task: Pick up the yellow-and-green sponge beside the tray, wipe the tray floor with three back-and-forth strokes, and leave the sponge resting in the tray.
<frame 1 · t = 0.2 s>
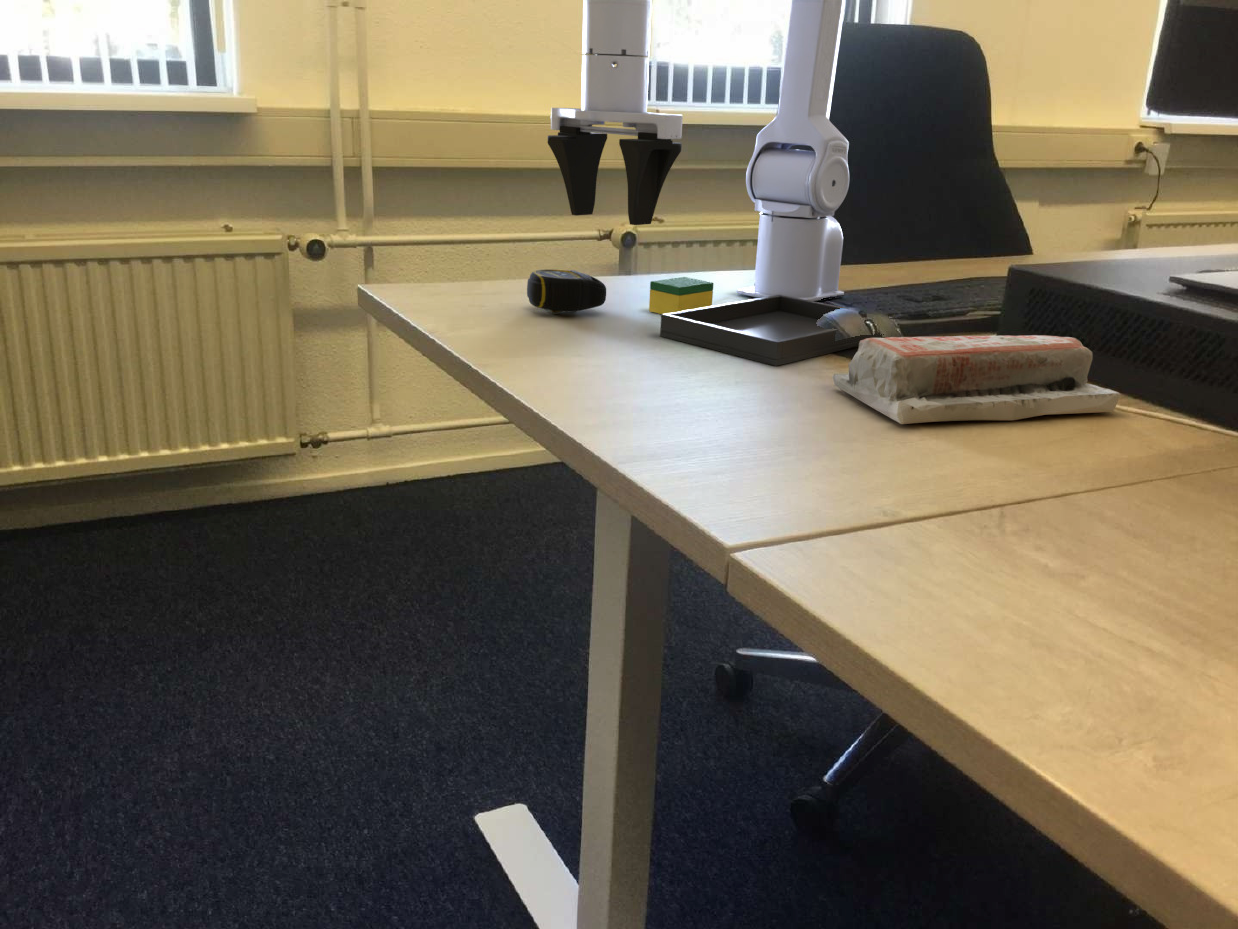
hand: (610, 219, 93), 10 cm above the table, tool pointing down, fingers open, 7 cm apart
tray: (777, 337, 95), on the table
tape measure: (566, 311, 103), on the table
packaged product: (970, 404, 77), on the table
sponge: (680, 311, 104), on the table
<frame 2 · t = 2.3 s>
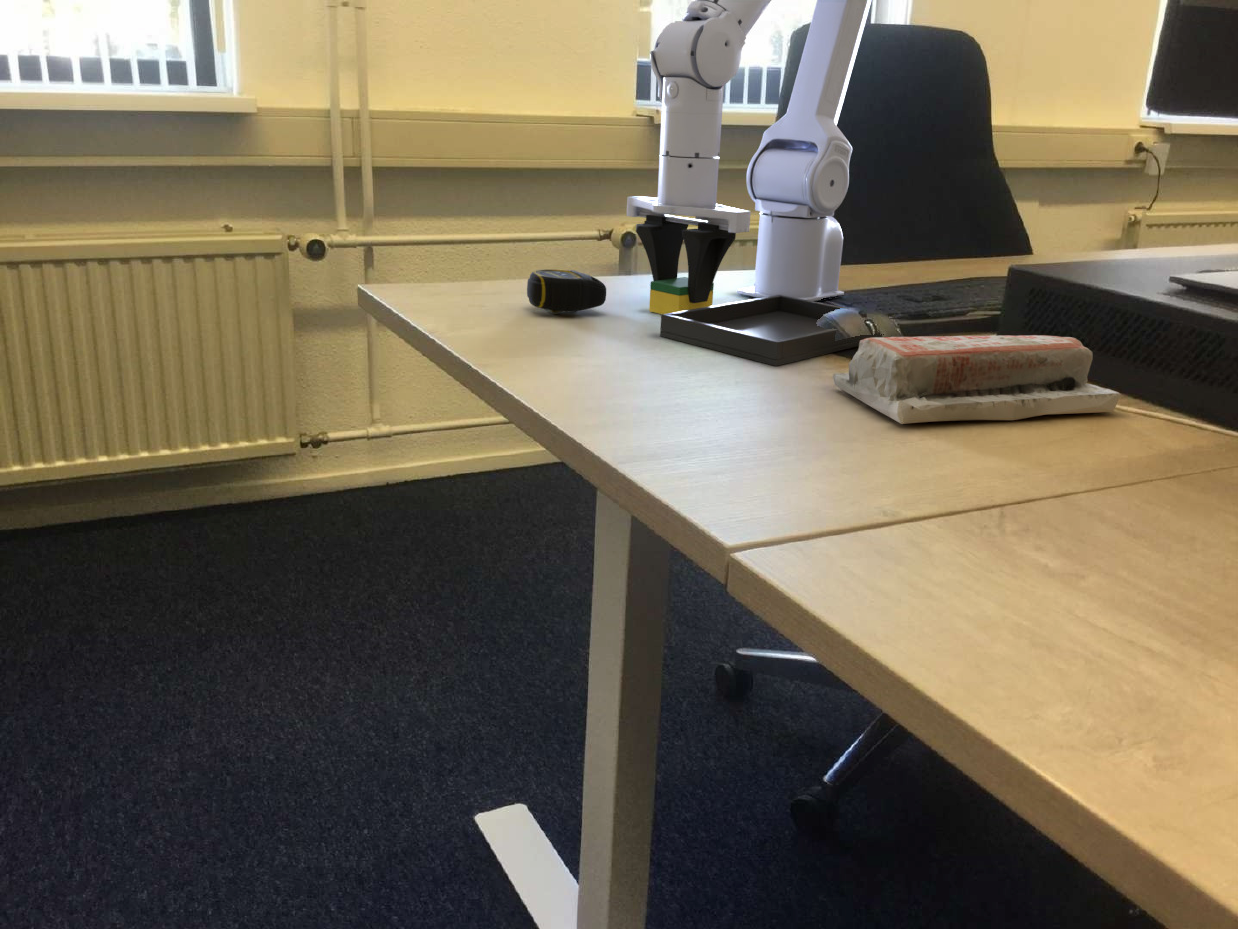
hand: (681, 297, 104), 1 cm above the table, tool pointing down, fingers closed on sponge, 4 cm apart
sponge: (680, 311, 104), on the table, touching gripper
everything else where it was.
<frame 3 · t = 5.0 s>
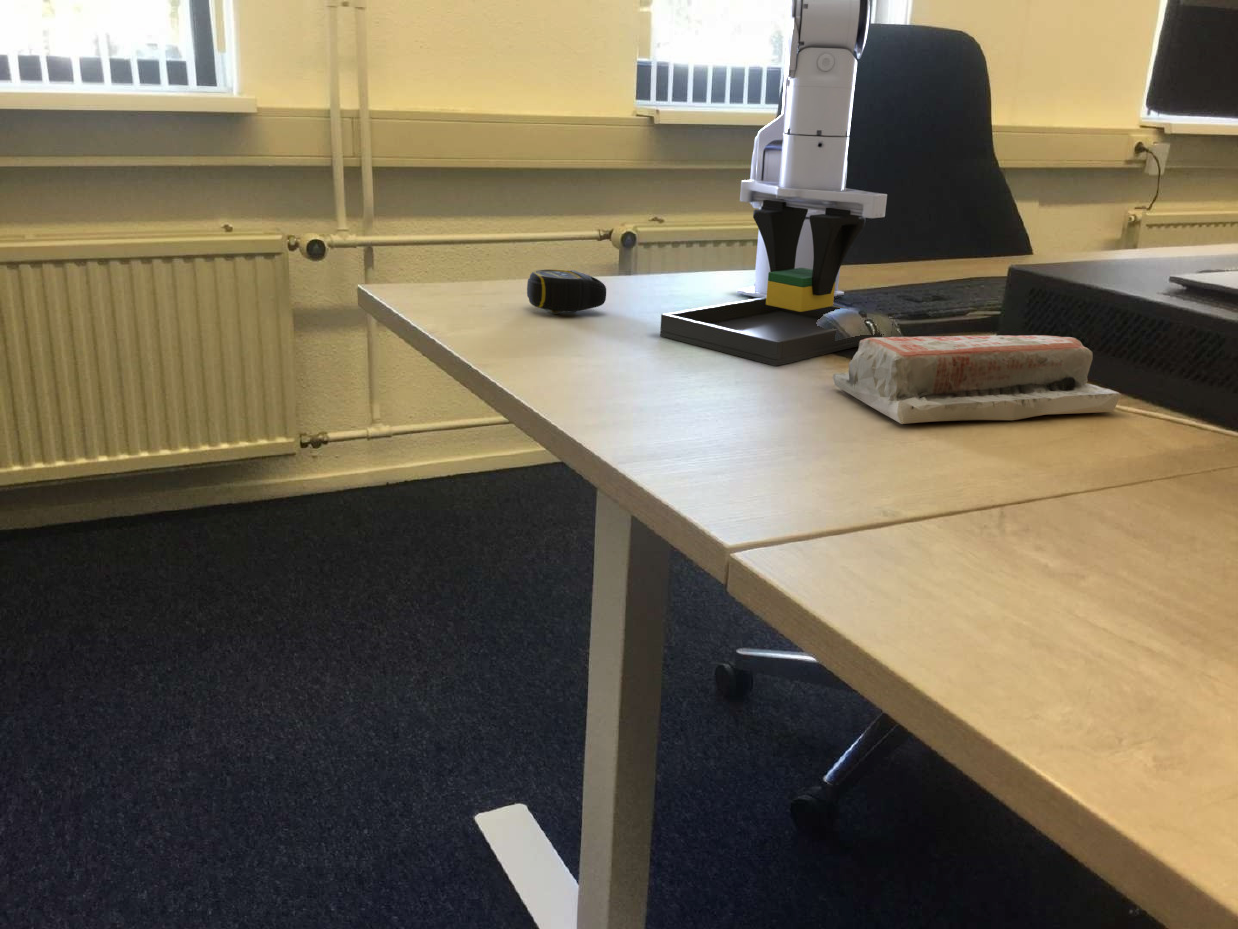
hand: (801, 290, 96), 4 cm above the table, tool pointing down, fingers closed on sponge, 4 cm apart
sponge: (799, 305, 96), point 3 cm above the table, touching gripper
everything else where it was.
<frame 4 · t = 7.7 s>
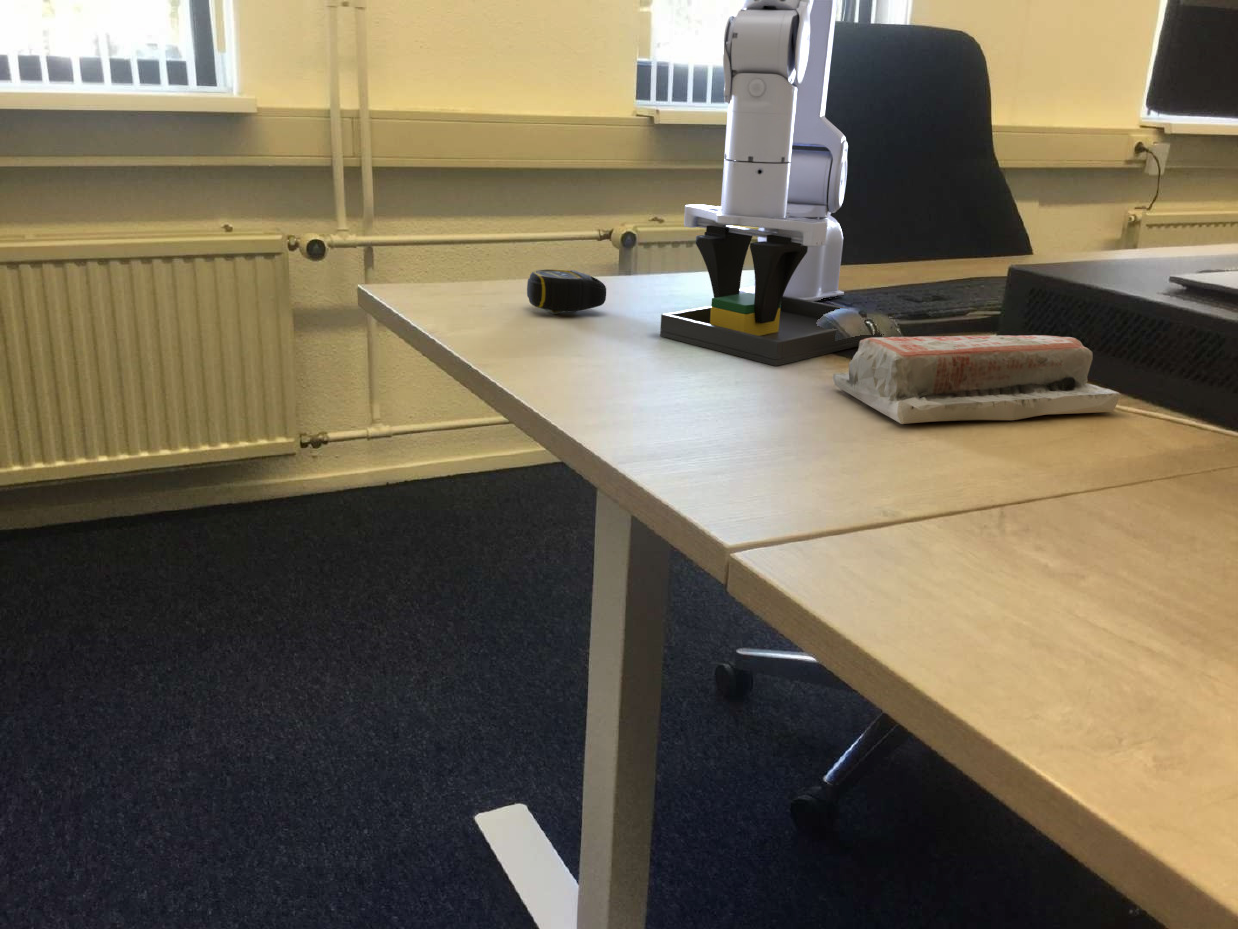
hand: (744, 317, 94), 2 cm above the table, tool pointing down, fingers closed on sponge, 4 cm apart
sponge: (744, 331, 95), point 1 cm above the table, touching gripper
everything else where it was.
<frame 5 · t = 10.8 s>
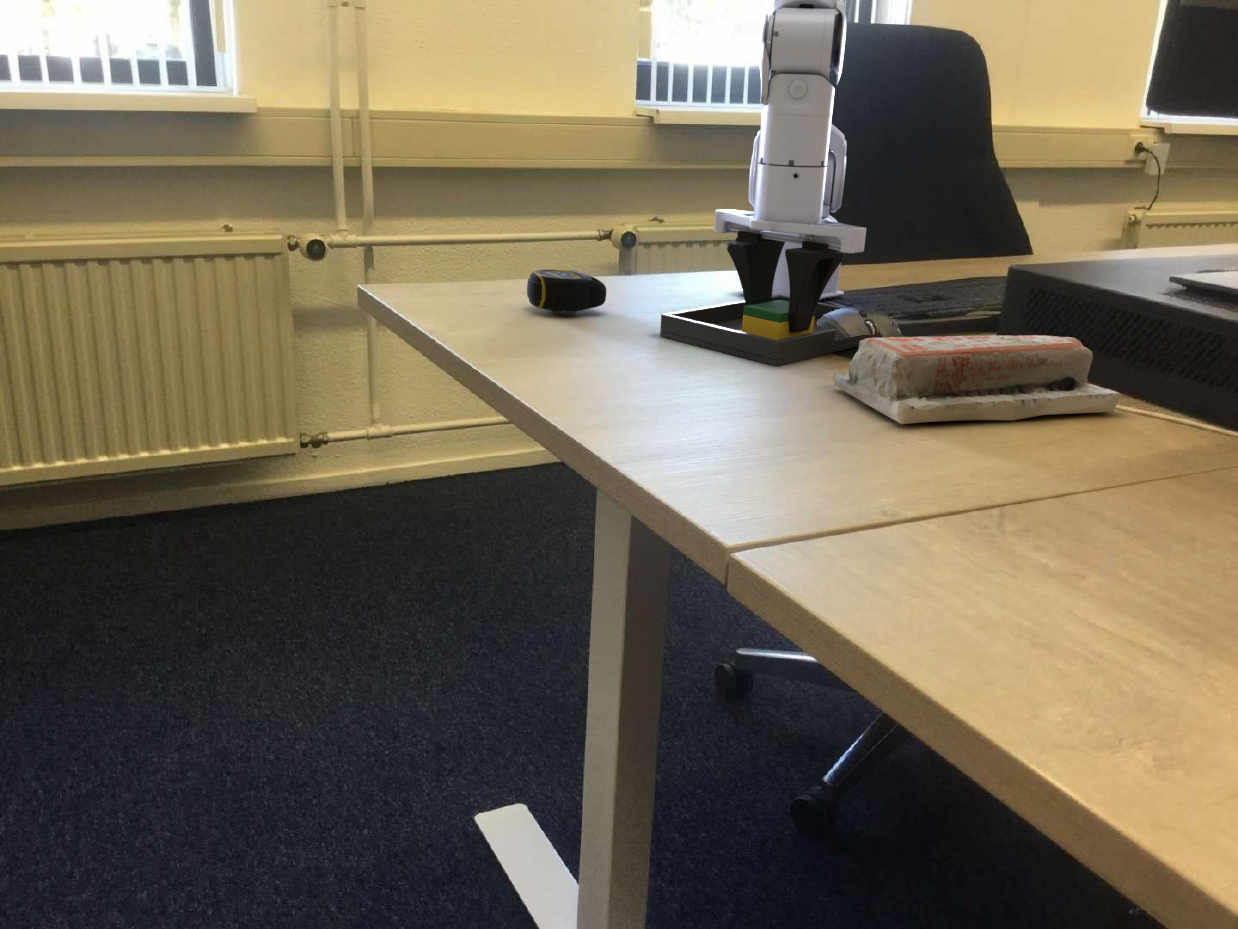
hand: (777, 325, 91), 2 cm above the table, tool pointing down, fingers closed on sponge, 4 cm apart
sponge: (776, 340, 92), point 1 cm above the table, touching gripper
everything else where it was.
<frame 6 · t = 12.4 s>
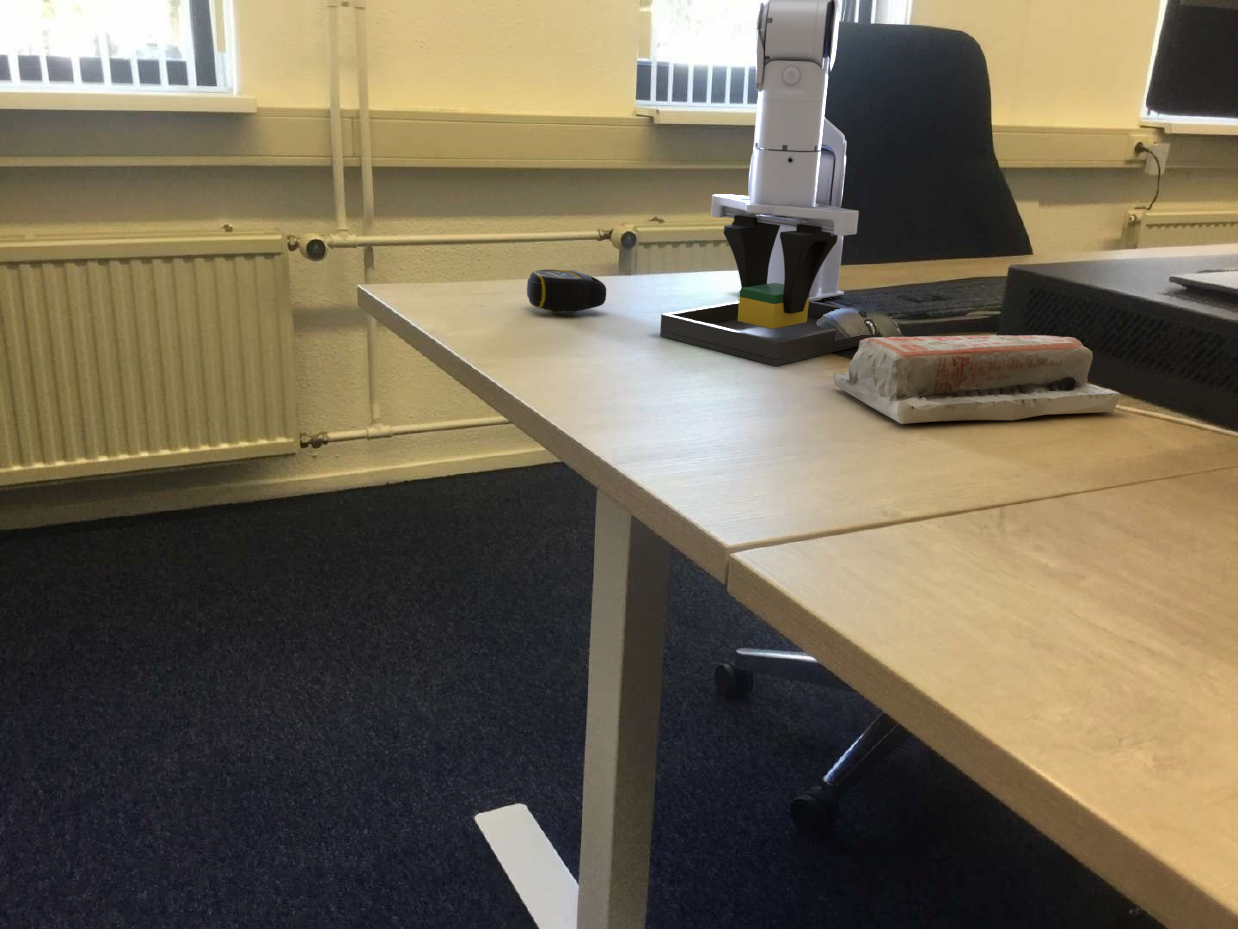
hand: (772, 307, 93), 3 cm above the table, tool pointing down, fingers closed on sponge, 4 cm apart
sponge: (772, 321, 94), point 2 cm above the table, touching gripper
everything else where it was.
when the fingers open (2 cm above the table, at t = 13.2 s): sponge stays where it is, resting on tray.
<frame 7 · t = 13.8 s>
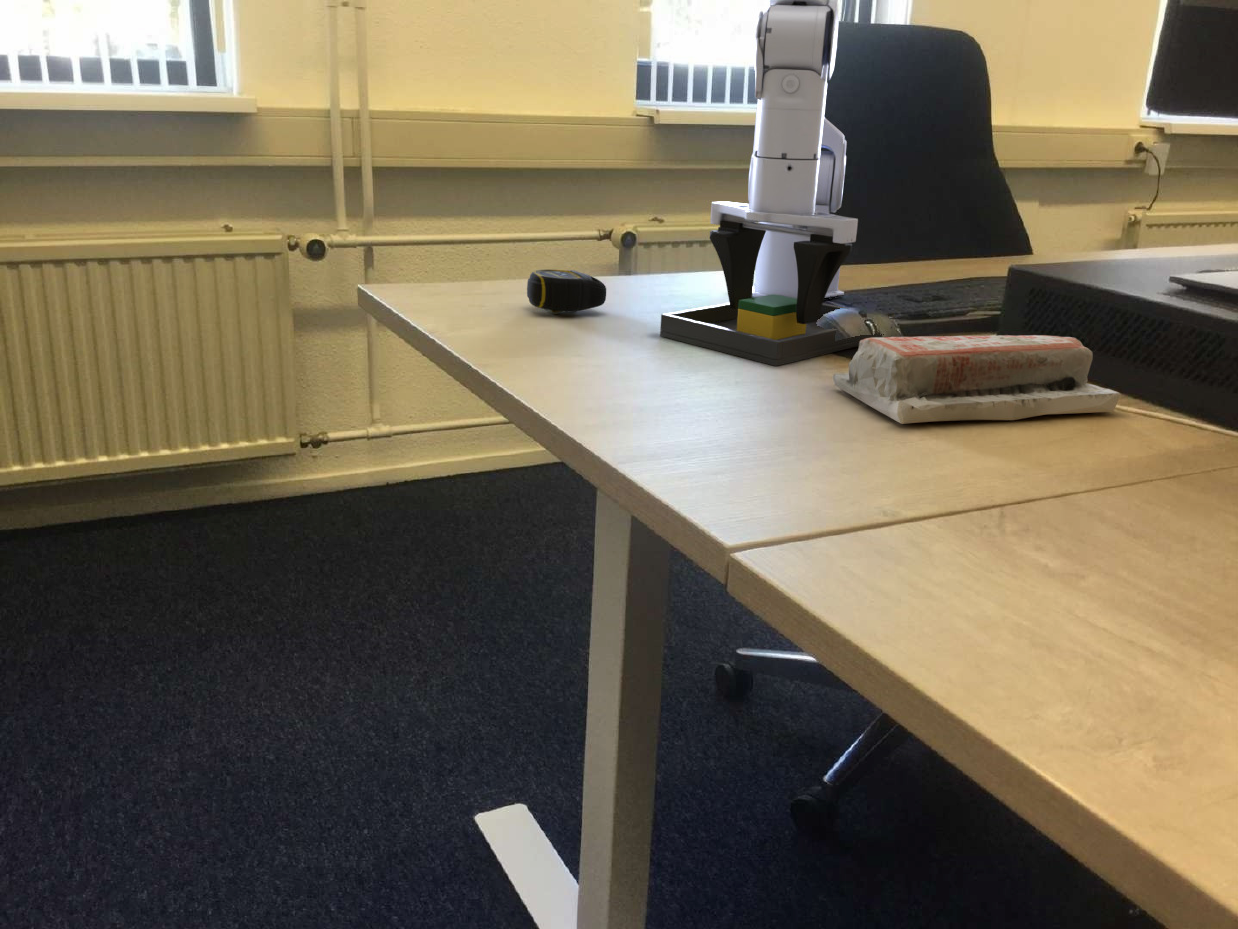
hand: (772, 314, 94), 2 cm above the table, tool pointing down, fingers open, 7 cm apart
sponge: (771, 333, 94), resting on tray
everything else where it was.
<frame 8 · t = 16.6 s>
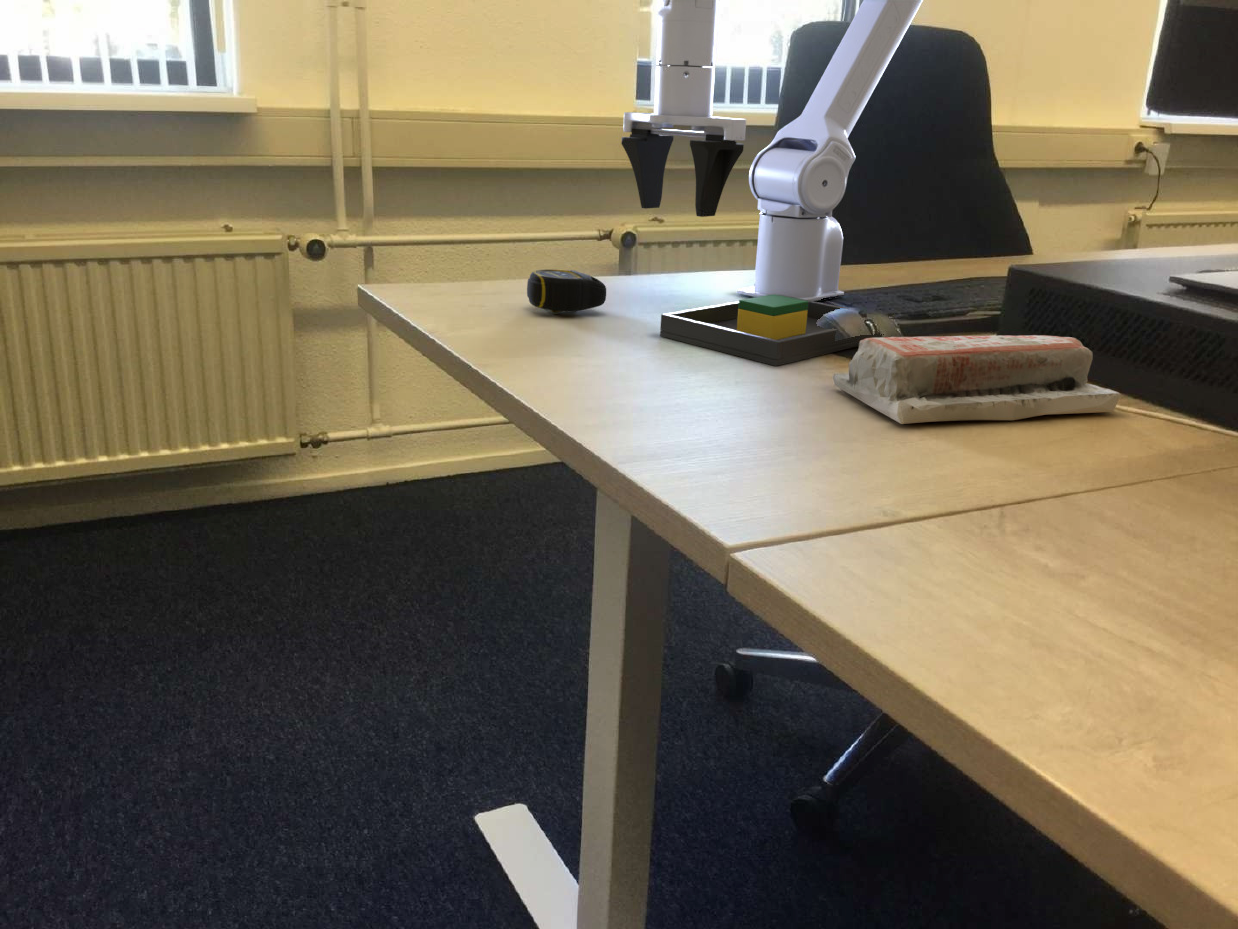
hand: (677, 211, 105), 9 cm above the table, tool pointing down, fingers open, 7 cm apart
nothing on the table moved.
at the end: sponge inside the target area in the tray (1.0 cm from its centre), point 0.5 cm above the tray's base; the gripper is holding nothing; sponge moved 13.2 cm from its start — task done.
